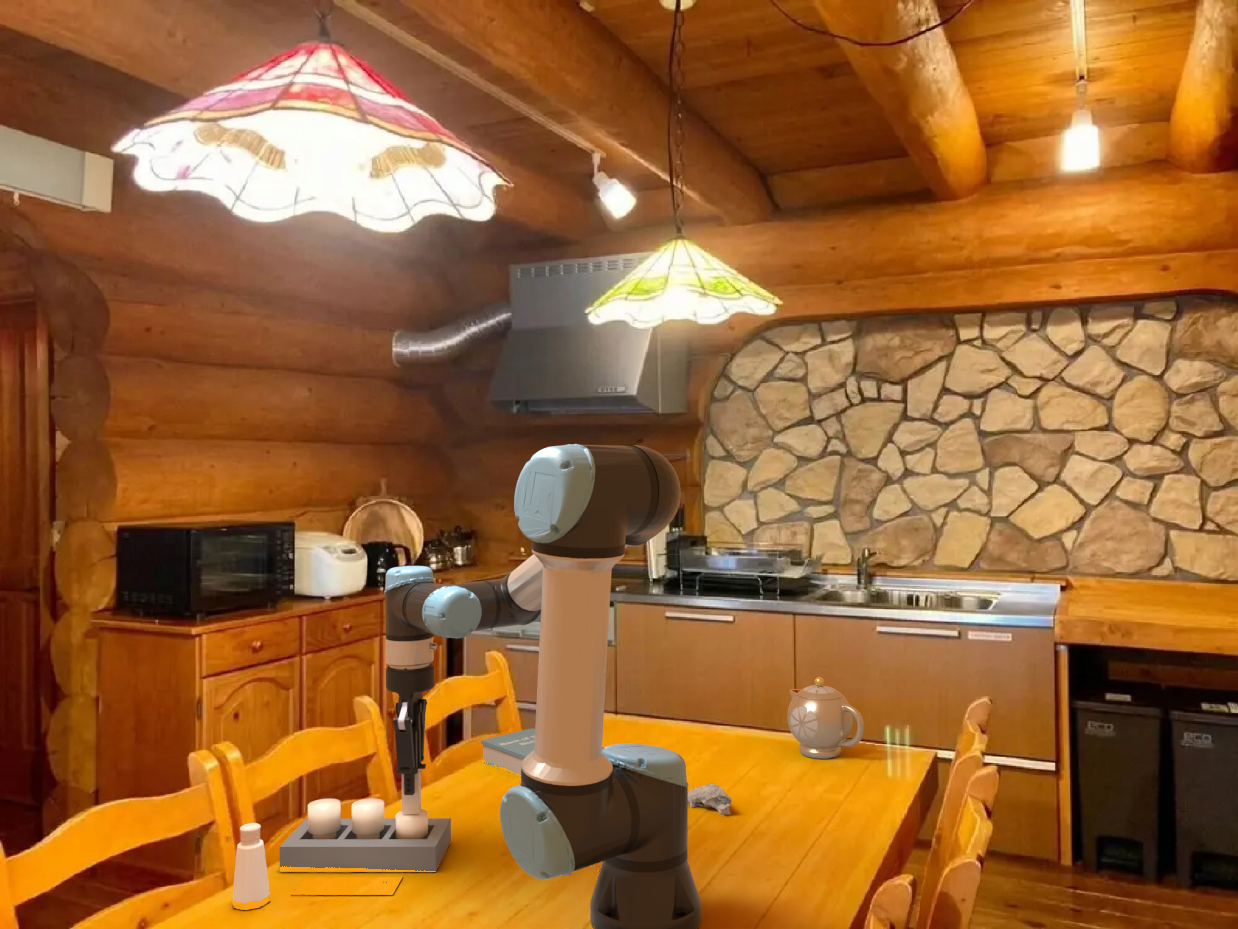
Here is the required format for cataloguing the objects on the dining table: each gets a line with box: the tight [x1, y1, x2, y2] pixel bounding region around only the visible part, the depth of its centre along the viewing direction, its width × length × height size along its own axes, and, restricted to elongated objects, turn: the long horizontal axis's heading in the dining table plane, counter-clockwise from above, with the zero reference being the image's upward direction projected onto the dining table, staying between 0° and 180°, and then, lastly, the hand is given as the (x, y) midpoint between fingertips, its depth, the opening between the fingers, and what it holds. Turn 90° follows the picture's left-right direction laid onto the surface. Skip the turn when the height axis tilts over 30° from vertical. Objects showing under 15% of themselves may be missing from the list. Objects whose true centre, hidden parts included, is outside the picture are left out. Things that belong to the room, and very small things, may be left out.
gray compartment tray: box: [278, 817, 452, 872], centre depth 157 cm, size 12×24×4 cm, turn 89°
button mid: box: [351, 797, 385, 839], centre depth 157 cm, size 5×5×6 cm
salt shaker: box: [232, 822, 271, 903], centre depth 141 cm, size 5×5×11 cm
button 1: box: [307, 798, 342, 839], centre depth 157 cm, size 5×5×6 cm
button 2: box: [395, 808, 429, 839], centre depth 157 cm, size 5×5×6 cm
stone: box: [688, 782, 733, 816], centre depth 179 cm, size 6×12×4 cm, turn 15°
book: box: [480, 728, 606, 775], centre depth 204 cm, size 23×16×5 cm
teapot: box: [786, 676, 865, 760], centre depth 209 cm, size 18×14×16 cm
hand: (411, 812), depth 157 cm, fingers closed
